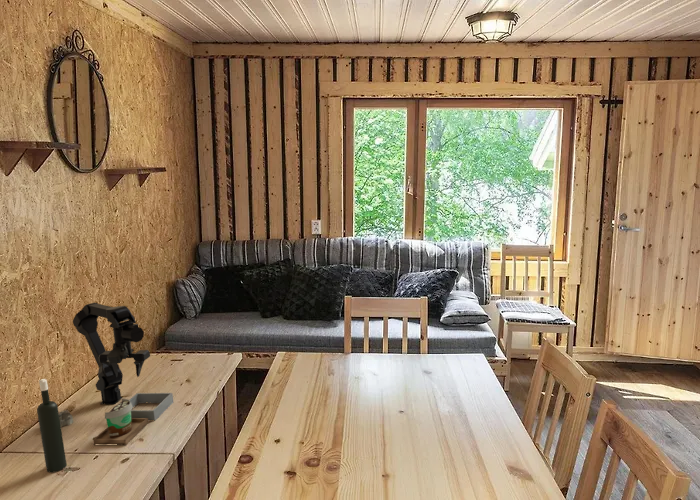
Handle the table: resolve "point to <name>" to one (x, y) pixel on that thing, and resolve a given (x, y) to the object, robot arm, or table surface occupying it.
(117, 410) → the food container
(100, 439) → the tray
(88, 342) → the robot arm
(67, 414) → the egg carton
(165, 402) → the tub
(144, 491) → the table surface
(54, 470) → the wine bottle
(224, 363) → the table surface
